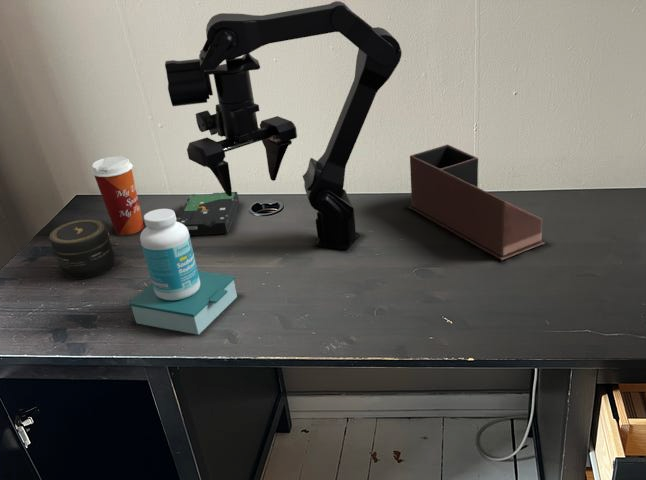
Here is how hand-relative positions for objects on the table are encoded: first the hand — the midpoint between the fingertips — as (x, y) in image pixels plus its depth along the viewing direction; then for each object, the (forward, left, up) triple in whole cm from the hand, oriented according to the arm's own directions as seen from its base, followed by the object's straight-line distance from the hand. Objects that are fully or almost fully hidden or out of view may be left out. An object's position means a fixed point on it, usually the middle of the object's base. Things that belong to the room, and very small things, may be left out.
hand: (251, 187), depth 131 cm
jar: (+29, +14, -13) cm, 35 cm away
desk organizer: (-35, -21, -13) cm, 43 cm away
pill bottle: (+3, +22, -9) cm, 24 cm away
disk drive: (+18, -10, -13) cm, 24 cm away
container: (+2, +22, -13) cm, 25 cm away
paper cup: (+32, -2, -13) cm, 35 cm away
